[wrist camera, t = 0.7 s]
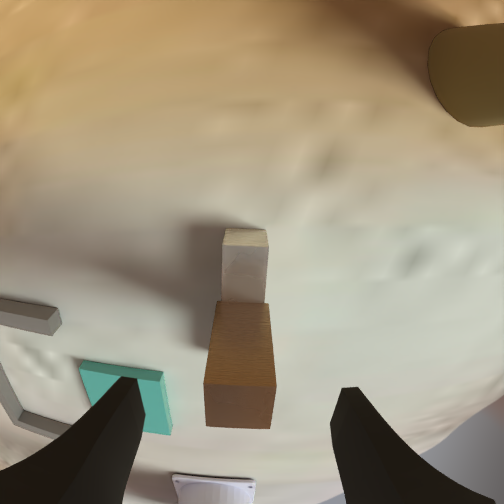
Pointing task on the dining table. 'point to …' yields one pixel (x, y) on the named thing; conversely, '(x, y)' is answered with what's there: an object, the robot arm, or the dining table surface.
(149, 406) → the tile
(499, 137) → the dining table surface
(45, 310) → the frame
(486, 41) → the cork
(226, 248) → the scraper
